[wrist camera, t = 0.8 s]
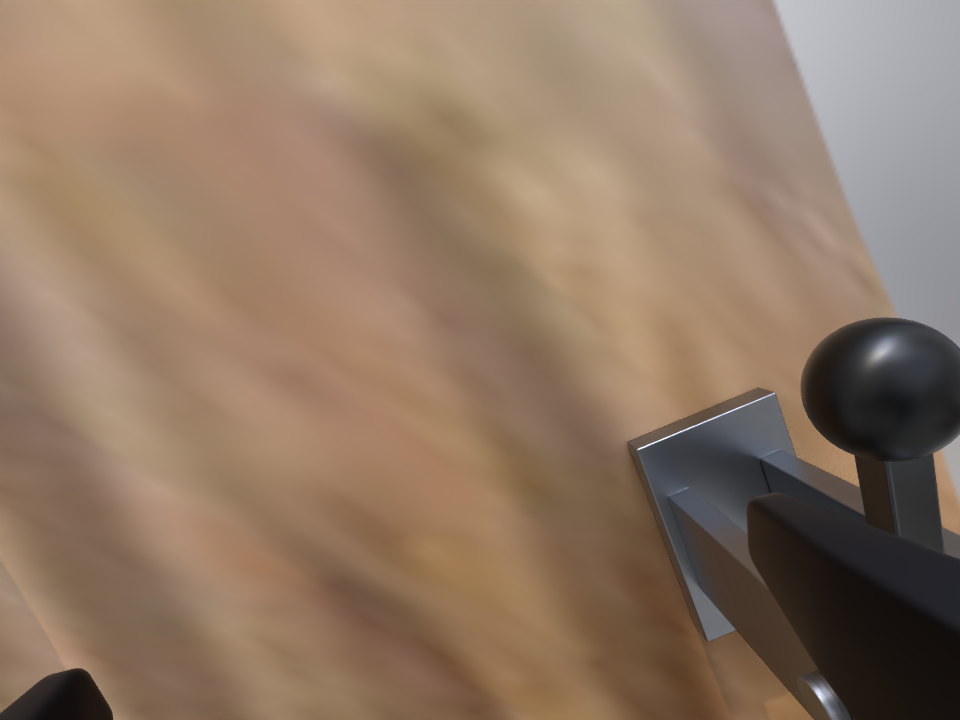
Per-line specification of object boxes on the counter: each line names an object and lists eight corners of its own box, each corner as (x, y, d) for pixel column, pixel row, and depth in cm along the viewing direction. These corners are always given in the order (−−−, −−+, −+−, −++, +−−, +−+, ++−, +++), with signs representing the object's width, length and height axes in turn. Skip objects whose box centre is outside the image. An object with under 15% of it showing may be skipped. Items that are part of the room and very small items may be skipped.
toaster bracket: (626, 441, 24) (810, 592, 12) (759, 386, 24) (1068, 484, 12) (694, 626, 25) (920, 923, 13) (820, 573, 25) (1151, 822, 13)
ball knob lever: (760, 334, 13) (862, 376, 10) (881, 284, 13) (1016, 312, 10) (835, 675, 16) (926, 778, 14) (929, 635, 16) (1042, 729, 14)
